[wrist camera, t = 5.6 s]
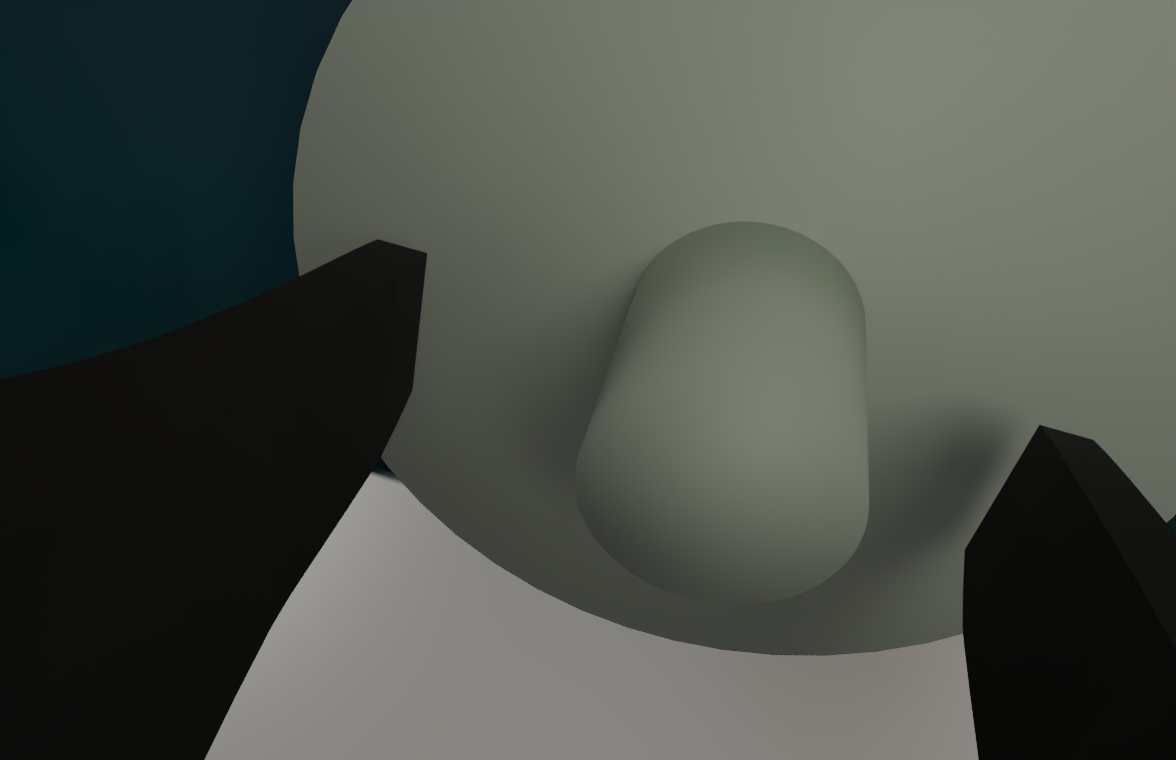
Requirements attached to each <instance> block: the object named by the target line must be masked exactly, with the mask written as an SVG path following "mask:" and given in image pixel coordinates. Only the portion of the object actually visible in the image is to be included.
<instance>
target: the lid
mask: <svg viewBox="0 0 1176 760" xmlns="http://www.w3.org/2000/svg"><path fill="white" fill-rule="evenodd" d="M293 208H294V242H295V249H296V256H297V263H298V269H299V276H301V275H303V274H305V273H307V272H309V271H311V270H313V269H316V268H318V267H320V266H322V265H324V264H326V263H328V262H330V261H332V260H334V259H336V258H338V257H340V256H342V255H344V254H346V253H348V252H350V251H352V250H354V249H357V248H359V247H361V246H363V245H365V244H368V243H370V242H372V241H375V240H377V239H379V240H383V241H386V242H390V243H393V244H397V245H400V246H404V247H408V248H411V249H415V250H418V251H422V252H425V253H427V260H426V270H425V279H424V288H423V298H422V307H421V316H420V325H419V335H418V344H417V353H416V363H415V372H414V381H413V390H412V393H411V395H410V397H409V399H408V401H407V403H406V406H405V408H404V410H403V412H402V414H401V416H400V419H399V421H398V423H397V425H396V427H395V429H394V431H393V433H392V435H391V437H390V439H389V442H388V444H387V446H386V448H385V450H384V452H383V454H382V456H381V458H382V459H383V460H384V462H385V463H386V465H387V466H388V467H389V468H390V469H391V471H392V472H393V473H394V474H395V475H396V476H397V477H398V478H399V479H400V480H401V482H402V483H403V484H404V485H405V486H406V487H407V488H408V489H409V490H410V491H411V492H412V494H413V495H414V496H415V497H416V498H417V499H418V500H419V501H420V502H421V503H422V504H423V505H424V506H425V507H426V508H427V509H428V510H429V511H431V512H432V513H433V514H434V515H435V516H436V517H437V518H438V519H439V520H440V521H442V522H443V523H444V524H445V525H446V526H447V527H448V528H449V529H451V530H452V531H453V532H454V533H455V534H456V535H458V536H459V537H460V538H461V539H463V540H464V541H465V542H467V543H468V544H470V545H471V546H472V547H474V548H475V549H476V550H478V551H479V552H481V553H482V554H483V555H484V556H486V557H487V558H489V559H490V560H491V561H493V562H494V563H495V564H497V565H499V566H501V567H502V568H504V569H505V570H507V571H509V572H510V573H512V574H514V575H515V576H517V577H519V578H520V579H522V580H523V581H525V582H527V583H528V584H530V585H532V586H533V587H535V588H537V589H539V590H541V591H543V592H545V593H547V594H549V595H551V596H553V597H555V598H557V599H560V600H562V601H564V602H566V603H568V604H570V605H572V606H574V607H576V608H578V609H580V610H583V611H585V612H588V613H591V614H593V615H596V616H599V617H601V618H604V619H607V620H609V621H612V622H614V623H617V624H620V625H622V626H625V627H628V628H632V629H635V630H639V631H642V632H646V633H649V634H653V635H657V636H660V637H664V638H667V639H671V640H675V641H680V642H685V643H690V644H695V645H701V646H706V647H711V648H717V649H722V650H731V651H741V652H751V653H761V654H770V655H836V654H850V653H863V652H875V651H882V650H888V649H894V648H900V647H906V646H911V645H917V644H923V643H929V642H933V641H937V640H940V639H944V638H948V637H952V636H955V635H959V634H963V577H964V553H965V549H966V547H967V545H968V544H969V542H970V540H971V539H972V537H973V535H974V533H975V532H976V530H977V528H978V527H979V525H980V523H981V522H982V520H983V518H984V517H985V515H986V513H987V512H988V510H989V508H990V507H991V505H992V503H993V502H994V500H995V498H996V497H997V495H998V493H999V492H1000V490H1001V488H1002V487H1003V485H1004V483H1005V482H1006V480H1007V478H1008V476H1009V475H1010V473H1011V471H1012V470H1013V468H1014V466H1015V465H1016V463H1017V461H1018V460H1019V458H1020V456H1021V455H1022V453H1023V451H1024V450H1025V448H1026V446H1027V445H1028V443H1029V441H1030V440H1031V438H1032V436H1033V435H1034V433H1035V431H1036V430H1037V428H1038V426H1039V425H1042V426H1046V427H1049V428H1053V429H1057V430H1060V431H1064V432H1067V433H1071V434H1074V435H1078V436H1082V437H1085V438H1089V439H1092V440H1094V441H1095V442H1096V443H1097V444H1098V445H1099V446H1100V447H1101V448H1102V449H1103V450H1104V451H1105V452H1106V453H1107V454H1108V455H1109V456H1110V457H1111V458H1112V459H1113V460H1114V462H1115V463H1116V464H1117V465H1118V466H1119V467H1120V468H1121V470H1122V471H1123V472H1124V473H1125V474H1126V475H1127V477H1128V478H1129V479H1130V480H1131V481H1132V482H1133V484H1134V485H1135V486H1136V487H1137V488H1138V489H1139V491H1140V492H1141V493H1142V494H1143V495H1144V497H1145V498H1146V499H1147V500H1148V501H1149V503H1150V504H1151V505H1152V506H1153V507H1154V509H1155V510H1156V511H1157V512H1158V513H1159V515H1160V516H1161V517H1162V518H1163V519H1164V521H1165V522H1166V523H1167V522H1168V521H1169V520H1170V519H1172V518H1173V517H1174V516H1175V515H1176V0H352V2H351V3H350V5H349V6H348V8H347V10H346V11H345V13H344V14H343V16H342V17H341V20H340V22H339V24H338V26H337V28H336V31H335V33H334V35H333V37H332V39H331V42H330V44H329V46H328V48H327V50H326V53H325V55H324V57H323V59H322V61H321V64H320V66H319V68H318V70H317V73H316V76H315V80H314V83H313V87H312V90H311V94H310V97H309V101H308V104H307V108H306V111H305V115H304V118H303V122H302V125H301V129H300V137H299V144H298V152H297V159H296V167H295V174H294V182H293Z"/></svg>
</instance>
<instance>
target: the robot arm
mask: <svg viewBox="0 0 1176 760" xmlns="http://www.w3.org/2000/svg"><path fill="white" fill-rule="evenodd" d="M426 260H427V253H425V252H422V251H418V250H415V249H411V248H408V247H404V246H400V245H397V244H393V243H390V242H386V241H383V240H379V239H377V240H375V241H372V242H370V243H368V244H365V245H363V246H361V247H359V248H357V249H354V250H352V251H350V252H348V253H346V254H344V255H342V256H340V257H338V258H336V259H334V260H332V261H330V262H328V263H326V264H324V265H322V266H320V267H318V268H316V269H313V270H311V271H309V272H307V273H305V274H303V275H301V276H299V277H297V278H295V279H293V280H290V281H288V282H286V283H284V284H282V285H280V286H278V287H276V288H273V289H271V290H269V291H267V292H265V293H263V294H261V295H258V296H256V297H254V298H252V299H250V300H247V301H245V302H243V303H240V304H238V305H235V306H233V307H230V308H228V309H225V310H223V311H221V312H218V313H216V314H213V315H211V316H208V317H206V318H203V319H201V320H199V321H196V322H194V323H191V324H189V325H186V326H184V327H181V328H179V329H177V330H174V331H171V332H168V333H166V334H163V335H160V336H157V337H154V338H151V339H148V340H145V341H142V342H140V343H137V344H134V345H130V346H127V347H124V348H121V349H117V350H114V351H111V352H107V353H104V354H101V355H98V356H94V357H91V358H88V359H84V360H80V361H77V362H73V363H69V364H65V365H61V366H57V367H52V368H48V369H44V370H39V371H35V372H31V373H26V374H22V375H18V376H13V377H9V378H5V379H0V760H204V759H205V757H206V755H207V753H208V751H209V749H210V747H211V745H212V743H213V741H214V739H215V737H216V735H217V733H218V731H219V729H220V727H221V725H222V723H223V720H224V718H225V716H226V714H227V712H228V710H229V708H230V706H231V704H232V702H233V700H234V698H235V696H236V694H237V692H238V690H239V688H240V686H241V684H242V683H243V681H244V678H245V677H246V675H247V673H248V671H249V669H250V667H251V665H252V663H253V661H254V659H255V657H256V655H257V653H258V651H259V649H260V648H261V646H262V644H263V642H264V640H265V638H266V636H267V634H268V632H269V630H270V628H271V626H272V625H273V623H274V621H275V620H276V618H277V616H278V615H279V613H280V611H281V610H282V608H283V606H284V605H285V603H286V601H287V600H288V598H289V596H290V595H291V593H292V592H293V590H294V589H295V587H296V585H297V584H298V582H299V581H300V579H301V578H302V576H303V575H304V573H305V572H306V570H307V569H308V567H309V566H310V564H311V563H312V561H313V560H314V558H315V557H316V555H317V554H318V552H319V551H320V549H321V548H322V546H323V545H324V543H325V542H326V540H327V539H328V537H329V535H330V534H331V533H332V531H333V530H334V528H335V527H336V525H337V524H338V522H339V520H340V519H341V518H342V516H343V515H344V513H345V511H346V510H347V509H348V507H349V505H350V504H351V502H352V501H353V499H354V498H355V496H356V494H357V493H358V492H359V490H360V488H361V487H362V486H363V484H364V482H365V481H366V479H367V478H368V476H369V475H370V473H371V472H372V470H373V469H374V467H375V465H376V464H377V462H378V461H379V459H380V458H381V456H382V454H383V452H384V450H385V448H386V446H387V444H388V442H389V439H390V437H391V435H392V433H393V431H394V429H395V427H396V425H397V423H398V421H399V419H400V416H401V414H402V412H403V410H404V408H405V406H406V403H407V401H408V399H409V397H410V395H411V393H412V390H413V381H414V372H415V363H416V353H417V344H418V335H419V325H420V316H421V307H422V298H423V288H424V279H425V270H426ZM963 636H964V646H965V654H966V662H967V671H968V679H969V688H970V696H971V702H972V711H973V719H974V725H975V733H976V741H977V749H978V757H979V760H1176V534H1175V532H1174V531H1173V530H1172V529H1171V528H1170V527H1169V525H1168V524H1167V523H1166V522H1165V521H1164V519H1163V518H1162V517H1161V516H1160V515H1159V513H1158V512H1157V511H1156V510H1155V509H1154V507H1153V506H1152V505H1151V504H1150V503H1149V501H1148V500H1147V499H1146V498H1145V497H1144V495H1143V494H1142V493H1141V492H1140V491H1139V489H1138V488H1137V487H1136V486H1135V485H1134V484H1133V482H1132V481H1131V480H1130V479H1129V478H1128V477H1127V475H1126V474H1125V473H1124V472H1123V471H1122V470H1121V468H1120V467H1119V466H1118V465H1117V464H1116V463H1115V462H1114V460H1113V459H1112V458H1111V457H1110V456H1109V455H1108V454H1107V453H1106V452H1105V451H1104V450H1103V449H1102V448H1101V447H1100V446H1099V445H1098V444H1097V443H1096V442H1095V441H1094V440H1092V439H1089V438H1085V437H1082V436H1078V435H1074V434H1071V433H1067V432H1064V431H1060V430H1057V429H1053V428H1049V427H1046V426H1042V425H1039V426H1038V428H1037V430H1036V431H1035V433H1034V435H1033V436H1032V438H1031V440H1030V441H1029V443H1028V445H1027V446H1026V448H1025V450H1024V451H1023V453H1022V455H1021V456H1020V458H1019V460H1018V461H1017V463H1016V465H1015V466H1014V468H1013V470H1012V471H1011V473H1010V475H1009V476H1008V478H1007V480H1006V482H1005V483H1004V485H1003V487H1002V488H1001V490H1000V492H999V493H998V495H997V497H996V498H995V500H994V502H993V503H992V505H991V507H990V508H989V510H988V512H987V513H986V515H985V517H984V518H983V520H982V522H981V523H980V525H979V527H978V528H977V530H976V532H975V533H974V535H973V537H972V539H971V540H970V542H969V544H968V545H967V547H966V549H965V553H964V577H963Z"/></svg>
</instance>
